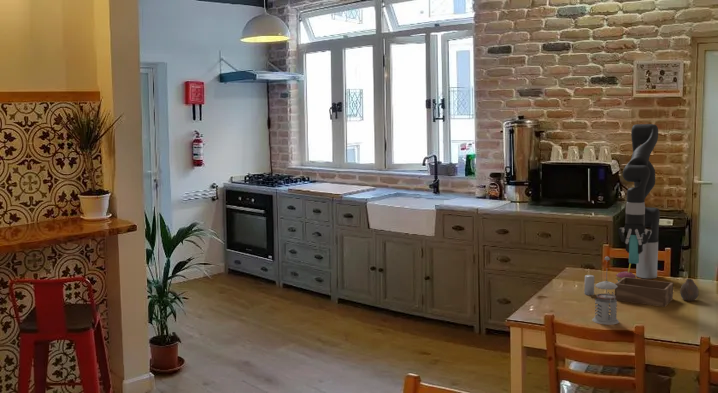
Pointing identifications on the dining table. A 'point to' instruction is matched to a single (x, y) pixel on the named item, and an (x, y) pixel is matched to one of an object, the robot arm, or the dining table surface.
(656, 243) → the robot arm
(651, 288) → the peg box
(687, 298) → the vase
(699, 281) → the dining table surface
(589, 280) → the grey peg
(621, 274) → the cupcake
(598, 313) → the french press
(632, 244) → the teal peg
